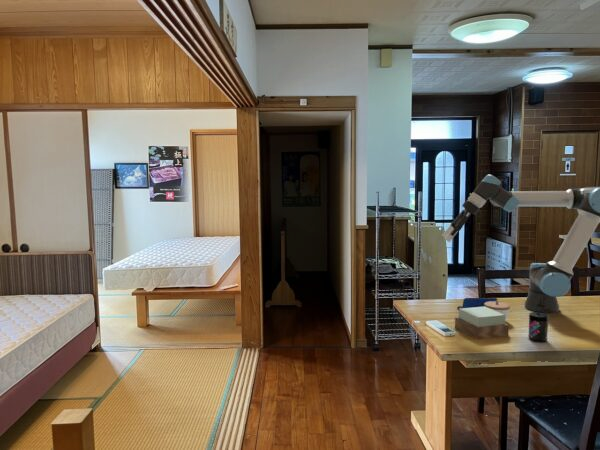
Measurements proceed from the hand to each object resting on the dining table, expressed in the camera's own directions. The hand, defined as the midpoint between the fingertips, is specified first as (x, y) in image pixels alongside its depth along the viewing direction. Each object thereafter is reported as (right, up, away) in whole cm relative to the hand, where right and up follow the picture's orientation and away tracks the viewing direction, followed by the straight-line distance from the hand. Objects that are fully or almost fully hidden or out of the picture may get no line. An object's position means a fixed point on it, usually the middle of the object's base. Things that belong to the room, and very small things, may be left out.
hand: (445, 238), depth 210 cm
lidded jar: (+19, -37, -14) cm, 44 cm away
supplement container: (+24, -40, -38) cm, 60 cm away
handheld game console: (+15, -36, 0) cm, 39 cm away
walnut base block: (+6, -39, -27) cm, 48 cm away
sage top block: (+6, -34, -28) cm, 44 cm away
